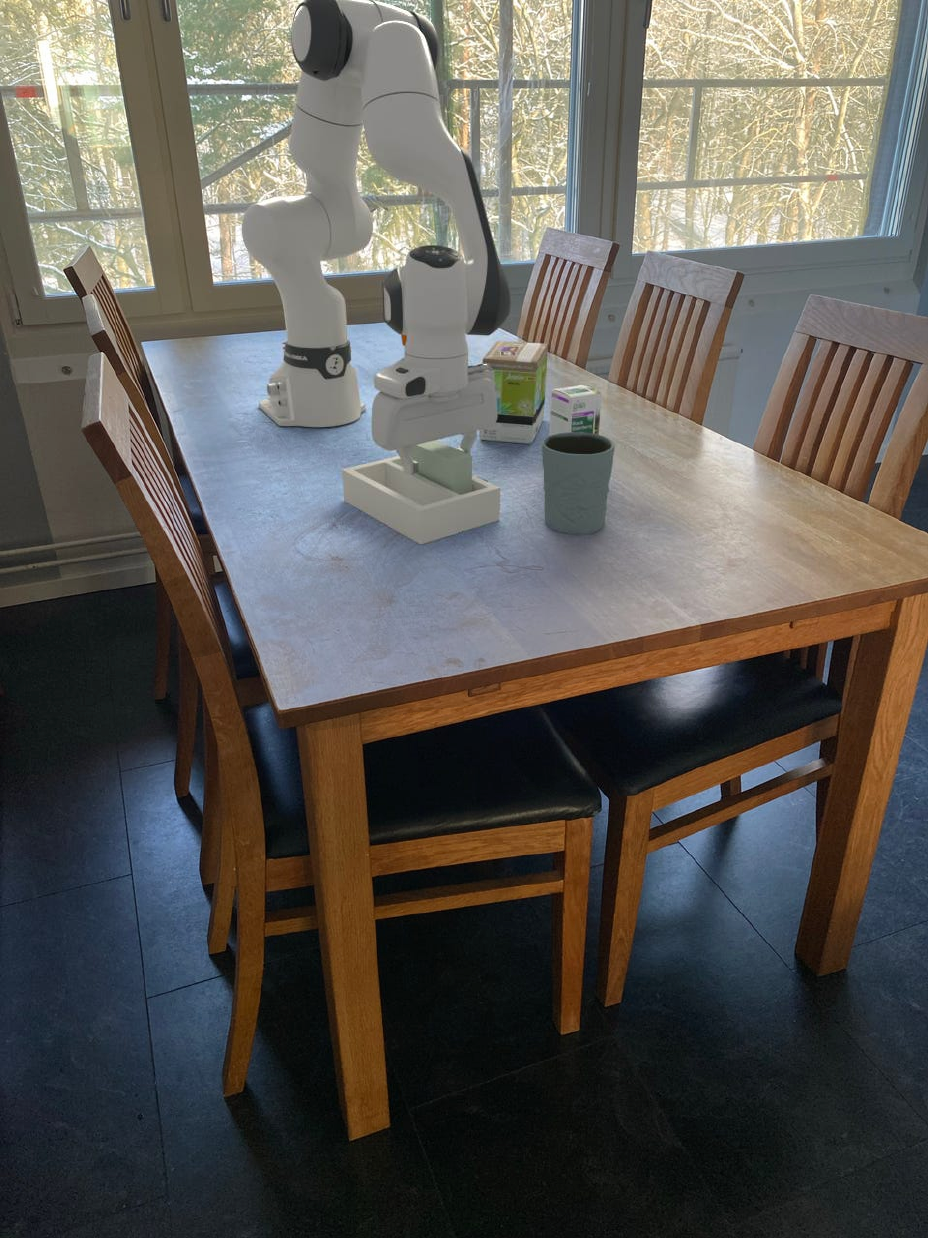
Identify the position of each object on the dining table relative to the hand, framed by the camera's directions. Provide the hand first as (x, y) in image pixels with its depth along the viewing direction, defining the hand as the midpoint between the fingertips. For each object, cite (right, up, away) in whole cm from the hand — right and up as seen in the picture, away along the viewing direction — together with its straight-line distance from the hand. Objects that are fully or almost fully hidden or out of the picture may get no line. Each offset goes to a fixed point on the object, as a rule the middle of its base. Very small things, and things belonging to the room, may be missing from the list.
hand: (437, 466), depth 136 cm
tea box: (+13, +12, +35) cm, 39 cm away
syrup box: (+21, 0, +13) cm, 25 cm away
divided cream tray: (-3, -6, +1) cm, 7 cm away
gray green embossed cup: (+20, -9, -2) cm, 22 cm away
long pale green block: (0, -4, +2) cm, 5 cm away
